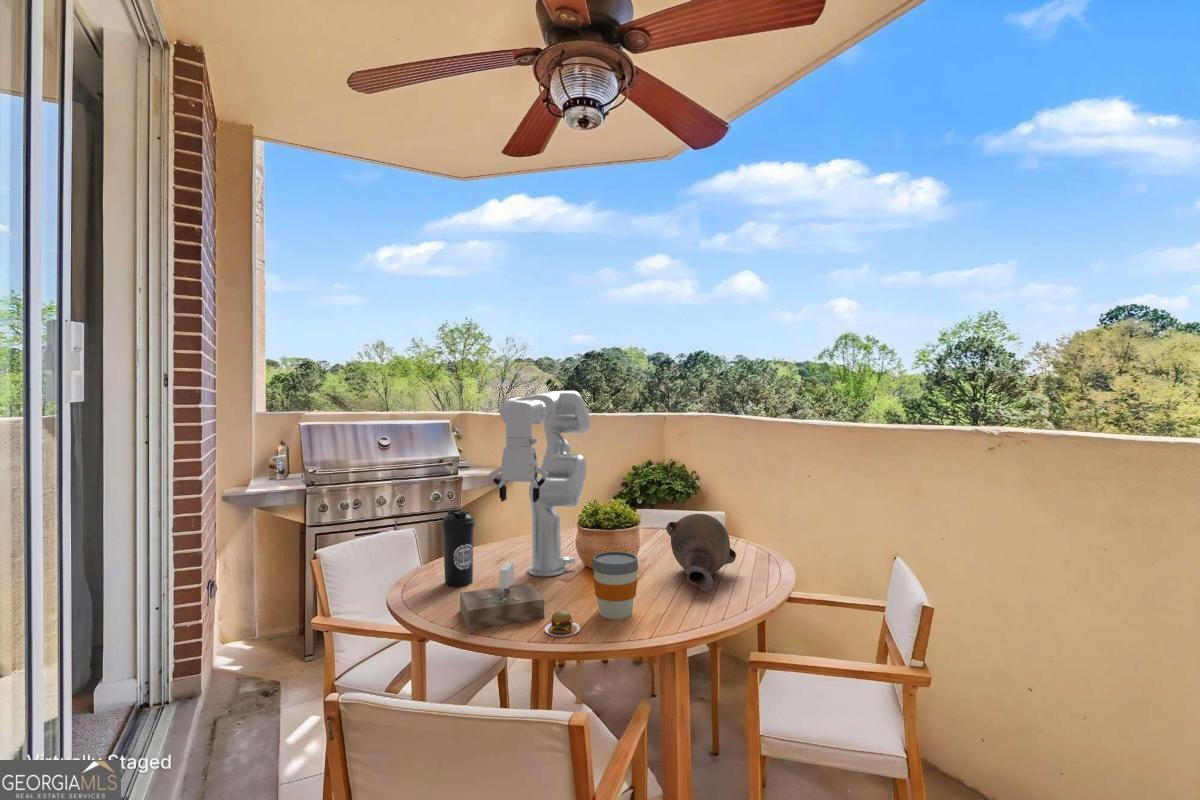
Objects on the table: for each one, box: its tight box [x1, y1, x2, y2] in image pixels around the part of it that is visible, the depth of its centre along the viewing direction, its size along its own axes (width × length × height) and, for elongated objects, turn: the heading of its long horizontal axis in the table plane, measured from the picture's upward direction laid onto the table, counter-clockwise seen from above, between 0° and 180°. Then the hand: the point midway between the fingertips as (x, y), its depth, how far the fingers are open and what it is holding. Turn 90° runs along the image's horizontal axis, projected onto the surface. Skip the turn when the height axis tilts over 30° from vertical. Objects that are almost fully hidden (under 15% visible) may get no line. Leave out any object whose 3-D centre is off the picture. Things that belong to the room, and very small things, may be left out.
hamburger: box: [544, 609, 581, 638], centre depth 142 cm, size 12×12×6 cm
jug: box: [665, 513, 737, 593], centre depth 181 cm, size 20×20×30 cm
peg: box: [499, 561, 515, 599], centre depth 154 cm, size 10×2×7 cm, turn 175°
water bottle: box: [441, 508, 476, 588], centre depth 179 cm, size 10×10×23 cm
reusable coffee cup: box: [592, 551, 639, 620], centre depth 153 cm, size 12×13×15 cm
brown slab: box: [459, 582, 545, 631], centre depth 153 cm, size 20×14×5 cm
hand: (519, 500), depth 166 cm, fingers open, 9 cm apart
